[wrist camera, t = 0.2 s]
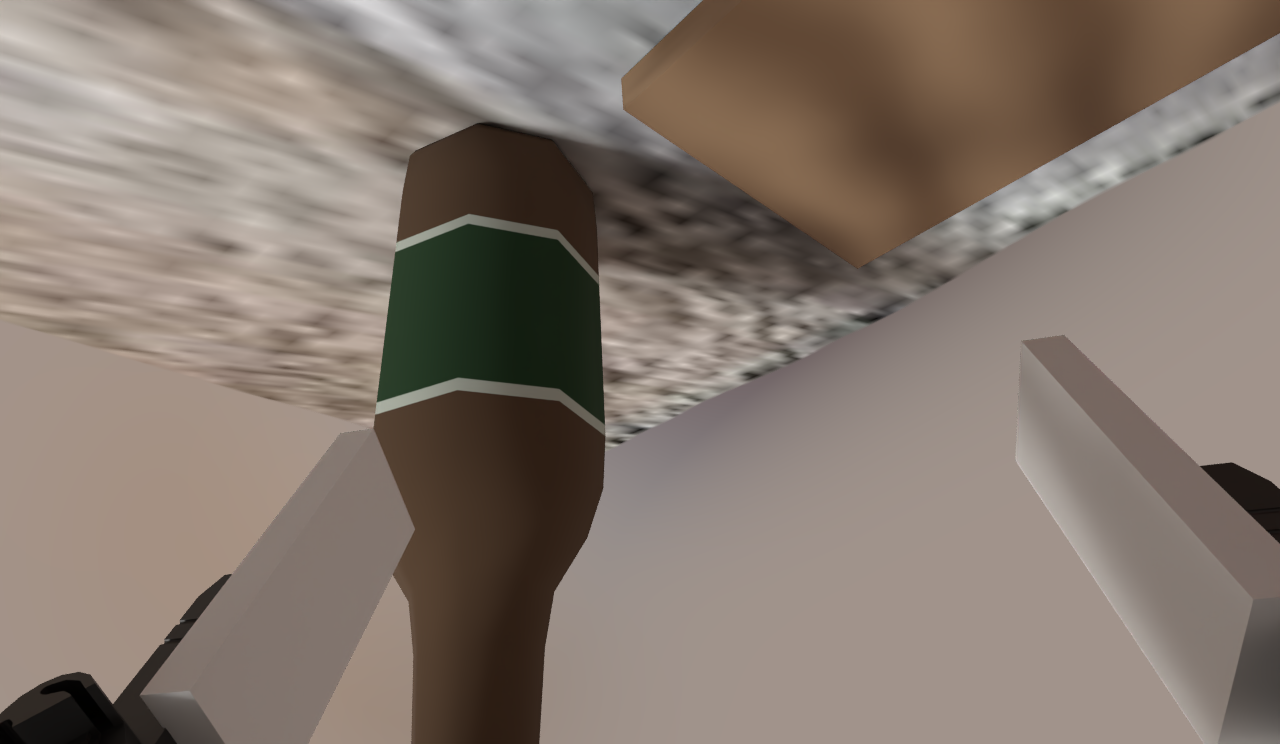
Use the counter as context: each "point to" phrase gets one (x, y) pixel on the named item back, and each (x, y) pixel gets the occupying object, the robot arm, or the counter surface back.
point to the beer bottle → (490, 419)
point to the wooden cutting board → (915, 96)
